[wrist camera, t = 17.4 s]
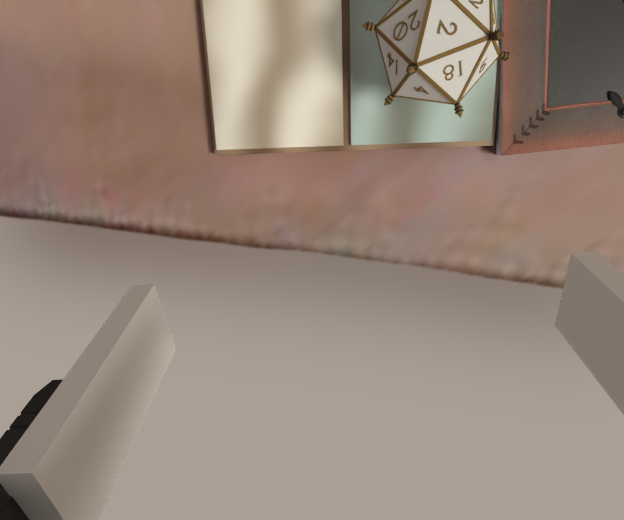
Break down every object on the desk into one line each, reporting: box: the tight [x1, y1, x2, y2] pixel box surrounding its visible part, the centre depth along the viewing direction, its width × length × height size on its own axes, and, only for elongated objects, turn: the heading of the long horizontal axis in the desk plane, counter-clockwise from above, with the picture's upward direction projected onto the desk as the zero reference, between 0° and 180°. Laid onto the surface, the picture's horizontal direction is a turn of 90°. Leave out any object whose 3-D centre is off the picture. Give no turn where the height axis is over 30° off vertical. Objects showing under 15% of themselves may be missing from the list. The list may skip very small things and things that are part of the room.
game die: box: [362, 0, 512, 118], centre depth 27 cm, size 9×8×10 cm
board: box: [200, 0, 501, 155], centre depth 32 cm, size 22×13×1 cm, turn 92°
